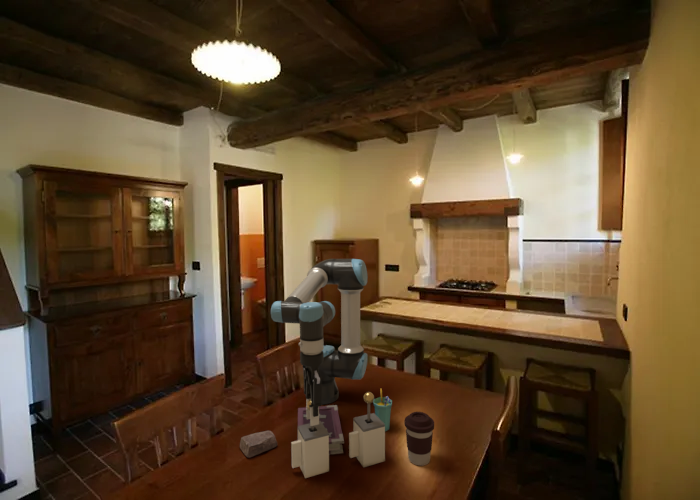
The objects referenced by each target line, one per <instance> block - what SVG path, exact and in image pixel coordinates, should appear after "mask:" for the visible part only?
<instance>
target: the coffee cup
mask: <svg viewBox="0 0 700 500" xmlns="http://www.w3.org/2000/svg"><path fill="white" fill-rule="evenodd" d="M403 423H404V427H405V438H406V439H405V440H406V448H407V457H408V458H407V459H408V461H409V462H410V463H412V465H416V466H426V465H428V464H429V463H430V461H431V455H432V454H431V452H432V445H433V430H434V429H435V421H434V419H433V418H432V417H431V416H429V415H428V414H427V413H426V412H423V411H413V412H411V413H410V414H408V415H407V416H405V417H404V422H403Z"/></svg>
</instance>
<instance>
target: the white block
mask: <svg viewBox="0 0 700 500" xmlns="http://www.w3.org/2000/svg"><path fill="white" fill-rule="evenodd" d="M352 423H353V424H352V426H353V429H352V430H353V431H351V432H348V443H349V445H348V449H349V451H348V452H349V453H348V456H349V458H350V459H352V458H356V459H357V460H358V462H359V463H360V465H361V466H362V467H363V468H367V467H369V466H373V465H376V464H379V463H383V462H386V431H385V424H384V423H383V422H382V421H381V420H380V419H379V418H378V417H377V416H376V415H375V412H373V413H370V423H368V424H367V414H364V415H360V416H355V417H353V422H352Z"/></svg>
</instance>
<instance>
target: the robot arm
mask: <svg viewBox="0 0 700 500" xmlns="http://www.w3.org/2000/svg"><path fill="white" fill-rule="evenodd" d="M367 270H368V269H367V265H366V263H365V261H364V260H363V259H358V258H328V259H325V260H321V261H320V262H318V263H316V264H315V265H313V266H312V267H311V268H310V269H309V270H308V271H307V273H306V277H305V278H304V279H303V280H302V281H301V282H300V283H299V284H298V285H297V287H295V288H294V290H293V291H292V292H291V293H290V294H288V295H289V296H287V298H286V299H284V300H283V301H282V300H277V301H273V303H272V304H271V308H270V317H271V320H272V321H273V322H276V323H282V324H299V341H300V342H298V346H299V348H300V350H299V351H300V353H299V363H300V364H301V366H302V372H303V373H302V374H303V394H304V395H305V399H306V400H305V402H306V403H305V404H306V406H305V408H306V418H307V420H308V419H310V425H311V426H314V425H318V424H319V407H321V406H323V405H328V404H329V405H330V404H332V403H334V402H336V401H337V400H338V399H339V395H340V393H339V388H338V386H337V382H336V378H339V379H347V380H348V379H349V380H362V379H363V378H364V377H365V373H366V369H367V366H368V358H369V357H368V353H366V352H364V350H365V349H364V347H363V346H362V345H361V292H362V291H363V290H364V289H365V288H364V286H367V284H368V271H367ZM326 285H337V290H338V291H339V292H340V296H341V297H340V298H341V299H340V301H341V302H340V306H341V307H340V312H341V313H340V318H341V319H340V324H341V327H340V329H341V330H340V333H341V336H340V337H341V338H340V339H341V341H340V344H341V345H340V346H339V347H337V350H336V348H335V346H333V345H330V344H329V345H327V344H326V345H324V341H325V340H324V327H325V326H326V325H327V324H329V323H330V322H332V320H333V319H334V317H335V315H336V308H335V306H334V304H332V303H331V302H330V301H327V300H324V301H320V302H316V301H312V299H313V298H314V297H315V295H316V294H317V293H318V292H319V290H321V288H324V287H325V286H326ZM309 400H311V405H309V407H310V410H308V408H307V403H308V401H309Z"/></svg>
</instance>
